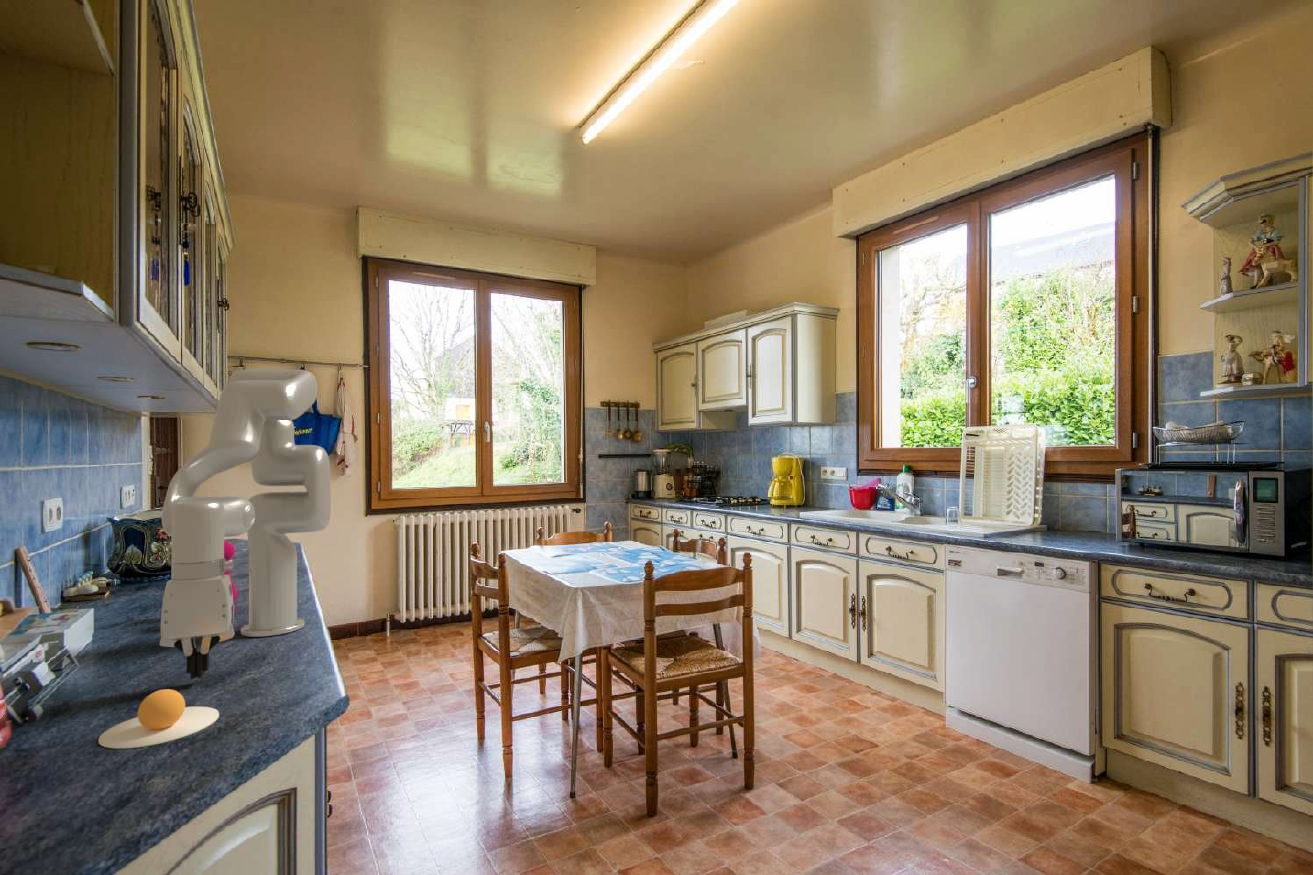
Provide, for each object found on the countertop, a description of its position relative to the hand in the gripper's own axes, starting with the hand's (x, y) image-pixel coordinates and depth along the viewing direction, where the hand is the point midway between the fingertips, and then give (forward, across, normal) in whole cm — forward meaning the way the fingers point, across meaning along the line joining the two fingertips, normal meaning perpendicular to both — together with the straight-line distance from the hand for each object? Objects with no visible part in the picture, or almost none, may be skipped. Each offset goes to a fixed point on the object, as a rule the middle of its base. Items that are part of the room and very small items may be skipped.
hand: (198, 675), depth 111 cm
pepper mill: (+2, +6, -60) cm, 60 cm away
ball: (-1, +1, +20) cm, 20 cm away
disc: (+2, +1, +19) cm, 19 cm away
